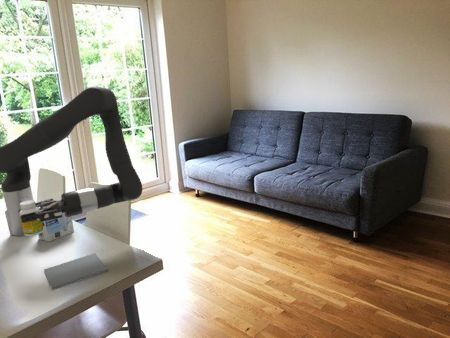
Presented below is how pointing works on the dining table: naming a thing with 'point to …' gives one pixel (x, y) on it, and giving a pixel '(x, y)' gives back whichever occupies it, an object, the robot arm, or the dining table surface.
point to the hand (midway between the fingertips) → (20, 216)
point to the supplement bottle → (31, 226)
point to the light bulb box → (56, 228)
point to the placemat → (74, 271)
